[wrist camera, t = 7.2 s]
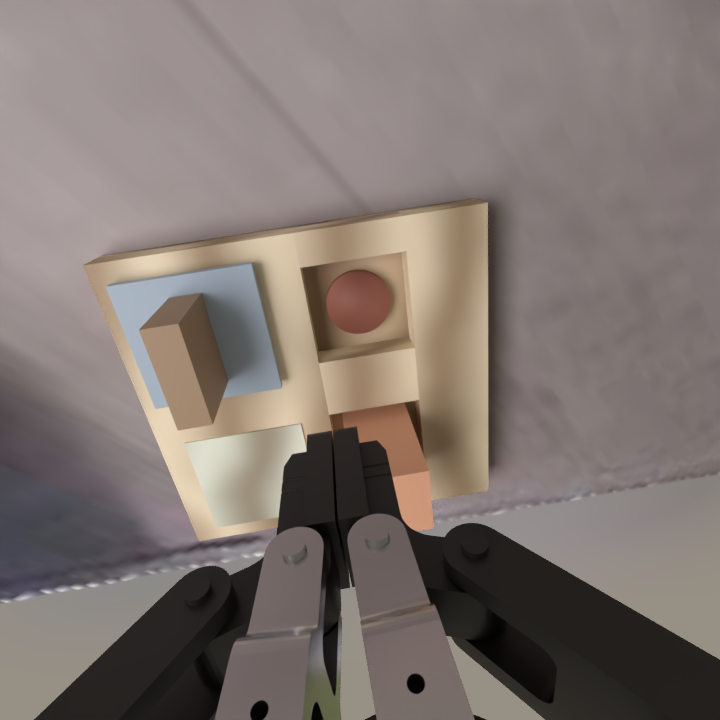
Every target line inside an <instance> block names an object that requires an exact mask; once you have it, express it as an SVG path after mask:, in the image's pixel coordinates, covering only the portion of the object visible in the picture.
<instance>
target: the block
mask: <svg viewBox="0 0 720 720" xmlns="http://www.w3.org/2000/svg"><path fill="white" fill-rule="evenodd" d="M342 416H343V425H344V428H349V427H356V426H357V430H358V436H359V442H360V443H362V442H368V441H374V440H377V441H378V442H379V443H380V444H381V445H382V446H383V447H384V448H385V449H386V452H387V456H388V460H389V465H390V469H391V474H392V478H393V482H394V487H395V491H396V496H397V500H398V505H399V509H400V513H401V516H402V519H403V520H404V522H405V523H406V524H407V525H408V526H409V527H410V528H411V529H413V530H415V531H420V530H425V529H431V528H434V525H433V513H432V500H431V488H430V475H429V469H428V466H427V463H426V461H425V458H424V455H423V452H422V450H421V447H420V444H419V441H418V438H417V436H416V433H415V430H414V427H413V425H412V422H411V419H410V416H409V413H408V411H407V408H406V405H405V402H403V403H397V404H391V405H385V406H379V407H373V408H367V409H361V410H355V411H349V412H343V413H342Z"/></svg>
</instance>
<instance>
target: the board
mask: <svg viewBox="0 0 720 720" xmlns="http://www.w3.org/2000/svg"><path fill="white" fill-rule="evenodd" d="M246 262H253V266H254V270H255V274H256V278H257V282H258V286H259V290H260V295H261V299H262V303H263V307H264V311H265V315H266V319H267V323H268V327H269V331H270V335H271V339H272V344H273V348H274V352H275V356H276V360H277V364H278V368H279V372H280V376H281V380H282V388H281V389H274V390H268V391H262V392H256V393H250V394H244V395H238V396H232V397H226V398H222V400H221V403H220V406H219V409H218V412H217V415H216V417H215V420H214V423H213V425H208V426H202V427H196V428H190V429H184V430H177V427H176V424H175V422H174V419H173V417H172V414H171V412H170V409H169V407H165V408H159V409H155V407H154V405H153V402H152V400H151V397H150V395H149V392H148V390H147V387H146V385H145V382H144V380H143V378H142V375H141V373H140V370H139V368H138V365H137V363H136V360H135V358H134V355H133V353H132V351H131V348H130V346H129V343H128V341H127V338H126V336H125V333H124V331H123V328H122V326H121V324H120V321H119V319H118V316H117V314H116V311H115V309H114V306H113V304H112V301H111V299H110V297H109V294H108V292H107V289H106V286H107V285H109V284H112V283H119V282H125V281H131V280H138V279H144V278H151V277H157V276H163V275H170V274H176V273H182V272H189V271H195V270H202V269H208V268H214V267H221V266H227V265H234V264H240V263H246ZM83 267H84V269H85V272H86V274H87V276H88V279H89V281H90V283H91V286H92V288H93V291H94V293H95V295H96V298H97V300H98V302H99V305H100V307H101V310H102V312H103V314H104V317H105V319H106V321H107V324H108V326H109V329H110V331H111V333H112V336H113V338H114V340H115V343H116V345H117V348H118V350H119V352H120V355H121V357H122V359H123V362H124V364H125V366H126V369H127V371H128V374H129V376H130V378H131V381H132V383H133V385H134V388H135V390H136V393H137V395H138V397H139V400H140V402H141V404H142V407H143V409H144V412H145V414H146V416H147V419H148V421H149V423H150V426H151V428H152V431H153V433H154V435H155V438H156V440H157V442H158V445H159V447H160V449H161V452H162V454H163V457H164V459H165V461H166V464H167V466H168V468H169V471H170V473H171V476H172V478H173V480H174V483H175V485H176V487H177V490H178V492H179V495H180V497H181V499H182V502H183V504H184V506H185V509H186V511H187V514H188V516H189V518H190V521H191V523H192V525H193V528H194V530H195V532H196V535H197V537H198V540H199V541H203V540H208V539H214V538H220V537H226V536H231V535H237V534H243V533H249V532H254V531H260V530H266V529H272V528H277V527H278V518H279V509H280V499H281V494H282V492H281V490H282V483H283V470H284V466H285V464H286V463H287V461H288V460H289V458H290V457H291V455H292V454H296V453H302V452H307V435H308V434H314V433H320V432H326V431H332V434H333V430H337V429H343V428H344V425H343V416H342V413H343V412H349V411H355V410H361V409H367V408H373V407H379V406H385V405H391V404H397V403H403V402H405V405H406V408H407V411H408V413H409V416H410V419H411V422H412V425H413V427H414V430H415V433H416V436H417V438H418V441H419V444H420V447H421V450H422V452H423V455H424V458H425V461H426V463H427V466H428V469H429V475H430V488H431V500H438V499H444V498H450V497H455V496H461V495H467V494H473V493H478V492H484V491H488V203H487V202H484V201H481V200H478V199H475V198H474V199H468V200H461V201H455V202H448V203H442V204H435V205H429V206H422V207H416V208H409V209H403V210H396V211H390V212H384V213H377V214H371V215H364V216H358V217H351V218H345V219H338V220H332V221H325V222H319V223H312V224H306V225H299V226H293V227H286V228H280V229H273V230H267V231H260V232H254V233H248V234H241V235H235V236H228V237H222V238H215V239H209V240H202V241H196V242H189V243H183V244H176V245H170V246H163V247H157V248H150V249H144V250H137V251H131V252H124V253H118V254H112V255H105V256H100V257H98V258H96V259H94V260H92V261H91V262H89V263H87V264H85V265H83Z"/></svg>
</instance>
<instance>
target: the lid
mask: <svg viewBox="0 0 720 720" xmlns="http://www.w3.org/2000/svg"><path fill="white" fill-rule="evenodd" d="M106 289H107V292H108V294H109V297H110V299H111V301H112V304H113V306H114V309H115V311H116V314H117V316H118V319H119V321H120V324H121V326H122V328H123V331H124V333H125V336H126V338H127V341H128V343H129V346H130V348H131V351H132V353H133V355H134V358H135V360H136V363H137V365H138V368H139V370H140V373H141V375H142V378H143V380H144V382H145V385H146V387H147V390H148V392H149V395H150V397H151V400H152V402H153V405H154V407H155V409H159V408H165V407H169V409H170V412H171V414H172V417H173V419H174V422H175V424H176V427H177V430H184V429H190V428H196V427H202V426H208V425H213V423H214V420H215V417H216V415H217V412H218V409H219V406H220V403H221V400H222V398H226V397H232V396H238V395H244V394H250V393H256V392H262V391H268V390H274V389H281V388H282V380H281V376H280V372H279V368H278V364H277V360H276V356H275V352H274V348H273V344H272V339H271V335H270V331H269V327H268V323H267V319H266V315H265V311H264V307H263V303H262V299H261V295H260V290H259V286H258V282H257V278H256V274H255V270H254V266H253V262H246V263H240V264H234V265H227V266H221V267H214V268H208V269H202V270H195V271H189V272H182V273H176V274H170V275H163V276H157V277H151V278H144V279H138V280H131V281H125V282H119V283H112V284H109V285H107V286H106Z"/></svg>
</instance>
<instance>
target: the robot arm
mask: <svg viewBox="0 0 720 720" xmlns="http://www.w3.org/2000/svg"><path fill="white" fill-rule="evenodd" d="M281 492H282V494H281V499H280V509H279V518H278V528H277V536H276V537H275V538H274V539H273V540H272V541H271V542H270V543H269V545H268V546H267V548H266V551H265V555H264V557H263V558H262V559H261V560H260V561H258V562H257V563H255V564H253V565H251V566H250V567H248V568H245V569H244V570H241V571H239V572H237V573H234V574H232V575H230V576H229V574H228V573H227V571H225V570H224V569H222V568H220V567H216V566H206V567H202V568H198V569H196V570H194V571H192V572H190V573H188V574H187V575H185V576H184V577H183V578H182V579H180V580H179V581H178V582H177V583H176V584H175V585H174V586H173V587H172V588H171V589H170V590H169V591H168V592H167V593H166V594H165V595H164V596H163V597H162V598H161V599H160V600H158V601H157V602H156V603H155V604H154V605H153V606H152V607H151V608H150V609H149V610H148V611H147V612H146V613H145V614H144V615H143V616H142V617H141V618H140V619H139V620H138V621H137V622H136V623H134V624H133V625H132V626H131V627H130V628H129V629H128V630H127V631H126V632H125V633H124V634H123V635H122V636H121V637H120V638H119V639H118V640H117V641H116V642H115V643H114V644H113V645H112V646H111V647H109V648H108V649H107V650H106V651H105V652H104V653H103V654H102V655H101V656H100V657H99V658H98V659H97V660H96V661H95V662H94V663H93V664H92V665H91V666H90V667H89V668H88V669H87V670H86V671H85V672H83V673H82V674H81V675H80V676H79V677H78V678H77V679H76V680H75V681H74V682H73V683H72V684H71V685H70V686H69V687H68V688H67V689H66V690H65V691H64V692H63V693H62V694H60V695H59V696H58V697H57V698H56V699H55V700H54V701H53V702H52V703H51V704H50V705H49V706H48V707H47V708H46V709H45V710H44V711H43V712H42V713H41V714H40V715H39V716H38V717H37V718H35V719H34V720H341V712H340V683H341V682H340V681H341V642H342V641H341V640H342V617H341V593H340V589H344V588H350V583H349V573H350V578H351V582H352V587H355V589H356V595H357V601H358V606H359V612H360V618H361V629H362V635H363V641H364V646H365V653H366V659H367V665H368V671H369V677H370V682H371V688H372V694H373V700H374V706H375V712H376V714H375V715H373V716H371V717H369V718H367V719H365V720H486V719H483V718H481V717H479V716H476V715H473V714H472V710H471V708H470V705H469V702H468V699H467V696H466V693H465V690H464V687H463V684H462V681H461V678H460V675H459V672H458V670H457V667H456V664H455V661H454V658H453V655H452V652H451V649H450V646H449V643H448V640H447V637H446V636H451V637H452V639H453V640H454V642H455V643H456V645H457V646H458V647H460V649H462V650H463V651H464V652H465V653H466V654H468V655H469V656H470V657H471V658H472V659H474V660H475V661H476V662H477V663H479V664H480V665H481V666H482V667H483V668H484V669H486V670H487V671H488V672H489V673H490V674H492V675H493V676H494V677H495V678H496V679H497V680H499V681H500V682H501V683H502V684H503V685H505V686H506V687H507V688H508V689H509V690H511V691H512V692H513V693H514V694H515V695H517V696H518V697H519V698H520V699H521V700H523V701H524V702H525V703H526V704H527V705H529V706H530V707H531V708H532V709H534V710H535V711H536V712H537V713H538V714H539V715H540V716H542V717H543V718H544V719H545V720H720V660H719V659H718V658H716V657H714V656H712V655H711V654H709V653H707V652H705V651H704V650H702V649H700V648H699V647H696V646H695V645H693V644H692V643H690V642H688V641H686V640H685V639H683V638H681V637H679V636H678V635H676V634H674V633H672V632H671V631H669V630H667V629H666V628H664V627H662V626H660V625H658V624H656V623H655V622H653V621H652V620H650V619H648V618H646V617H645V616H643V615H641V614H640V613H638V612H636V611H634V610H633V609H631V608H629V607H627V606H626V605H624V604H622V603H621V602H619V601H617V600H615V599H614V598H612V597H610V596H608V595H606V594H605V593H603V592H601V591H600V590H598V589H596V588H594V587H593V586H591V585H589V584H588V583H586V582H584V581H582V580H581V579H579V578H577V577H575V576H574V575H572V574H570V573H568V572H567V571H565V570H563V569H562V568H560V567H558V566H556V565H555V564H553V563H551V562H549V561H548V560H546V559H544V558H542V557H541V556H539V555H537V554H535V553H534V552H532V551H530V550H529V549H527V548H525V547H523V546H522V545H520V544H518V543H516V542H515V541H513V540H511V539H509V538H508V537H506V536H504V535H503V534H501V533H499V532H497V531H496V530H494V529H492V528H490V527H488V526H485V525H482V524H477V523H467V524H462V525H459V526H456V527H455V528H453V529H451V530H450V531H449V532H448V533H447V535H446V536H445V537H437V536H430V535H424V534H421V533H419V532H417V531H415V530H413V529H411V528H410V527H409V526H408V525H407V524H406V523H405V522H404V520H403V519H402V516H401V513H400V509H399V505H398V500H397V496H396V491H395V487H394V482H393V478H392V474H391V469H390V465H389V460H388V456H387V452H386V449H385V448H384V447H383V446H382V445H381V444H380V443H379V442H378V441H377V440H374V441H368V442H362V443H360V442H359V436H358V430H357V426H356V427H349V428H343V429H337V430H333V434H332V431H326V432H320V433H314V434H308V435H307V452H302V453H296V454H292V455H291V457H290V458H289V460H288V461H287V463H286V464H285V466H284V470H283V483H282V490H281Z"/></svg>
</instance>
